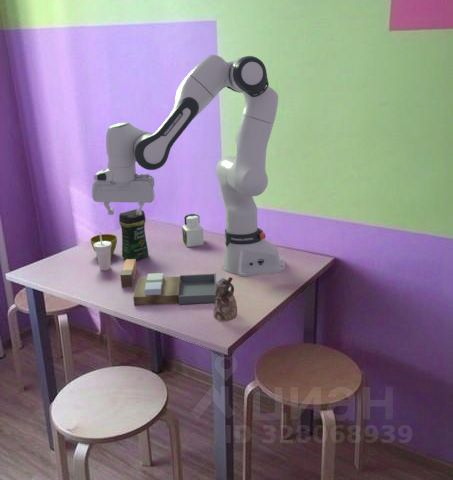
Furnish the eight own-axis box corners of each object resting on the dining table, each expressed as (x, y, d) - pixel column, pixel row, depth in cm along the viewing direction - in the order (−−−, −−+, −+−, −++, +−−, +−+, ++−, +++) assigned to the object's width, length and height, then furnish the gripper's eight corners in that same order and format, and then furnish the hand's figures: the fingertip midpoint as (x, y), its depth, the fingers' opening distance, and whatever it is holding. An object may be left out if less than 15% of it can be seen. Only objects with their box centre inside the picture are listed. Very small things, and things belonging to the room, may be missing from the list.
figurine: (209, 312, 157) (208, 276, 153) (231, 307, 160) (230, 271, 155) (219, 323, 151) (217, 285, 147) (241, 318, 153) (240, 280, 149)
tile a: (163, 278, 174) (163, 273, 173) (162, 284, 169) (162, 279, 169) (148, 279, 174) (147, 273, 173) (147, 285, 169) (146, 280, 168)
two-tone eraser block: (136, 270, 189) (135, 258, 187) (132, 287, 176) (131, 274, 174) (126, 270, 189) (125, 259, 187) (121, 287, 175) (120, 275, 174)
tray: (216, 281, 178) (215, 273, 177) (217, 303, 163) (217, 294, 162) (180, 283, 177) (180, 275, 176) (179, 305, 162) (178, 296, 161)
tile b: (162, 287, 167) (161, 281, 167) (161, 294, 163) (160, 288, 162) (146, 288, 167) (146, 282, 167) (145, 295, 163) (144, 289, 162)
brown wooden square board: (180, 284, 176) (180, 276, 175) (179, 303, 163) (178, 295, 162) (138, 286, 176) (138, 278, 175) (134, 305, 163) (133, 297, 162)
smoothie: (106, 263, 195) (102, 228, 190) (117, 267, 191) (114, 231, 187) (92, 269, 191) (88, 233, 186) (103, 273, 187) (99, 236, 182)
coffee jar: (131, 263, 195) (126, 215, 189) (119, 258, 200) (114, 211, 194) (152, 255, 201) (148, 209, 195) (139, 250, 207) (135, 206, 200)
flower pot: (123, 251, 207) (121, 234, 204) (111, 261, 197) (109, 243, 195) (100, 250, 209) (98, 233, 206) (87, 259, 200) (85, 242, 197)
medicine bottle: (182, 241, 215) (181, 213, 211) (199, 239, 217) (198, 211, 213) (186, 247, 209) (185, 219, 205) (204, 245, 211) (202, 216, 206)
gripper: (155, 172, 173) (157, 212, 177) (94, 171, 174) (98, 211, 178) (151, 176, 167) (153, 217, 171) (88, 175, 168) (92, 216, 172)
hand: (124, 214), depth 175 cm, fingers open, 8 cm apart
